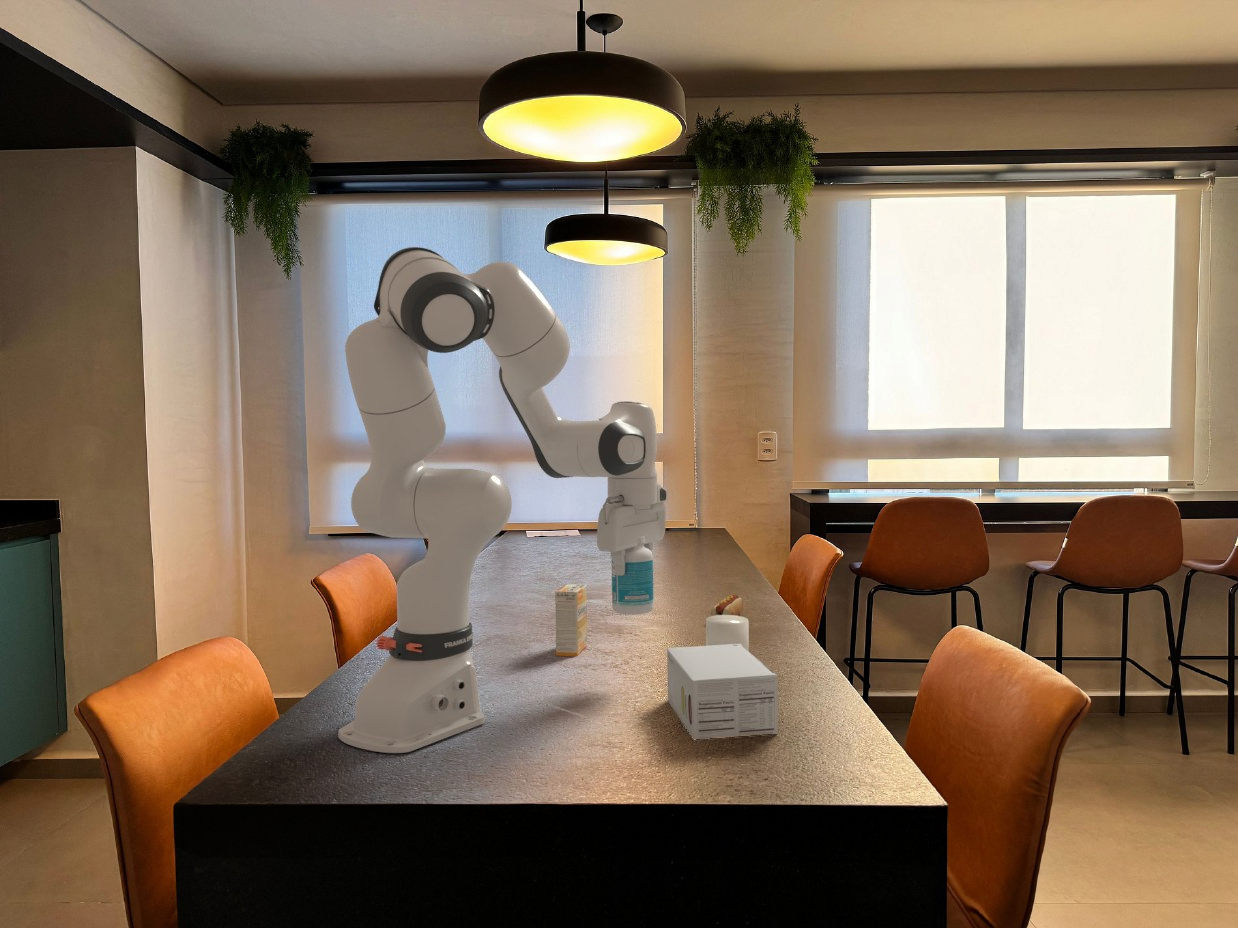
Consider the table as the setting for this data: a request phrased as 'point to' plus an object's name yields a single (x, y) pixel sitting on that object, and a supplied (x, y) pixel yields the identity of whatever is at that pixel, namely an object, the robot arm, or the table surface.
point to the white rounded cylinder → (727, 630)
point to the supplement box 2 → (722, 691)
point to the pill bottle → (634, 582)
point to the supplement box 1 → (571, 619)
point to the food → (728, 606)
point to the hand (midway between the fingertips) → (632, 571)
